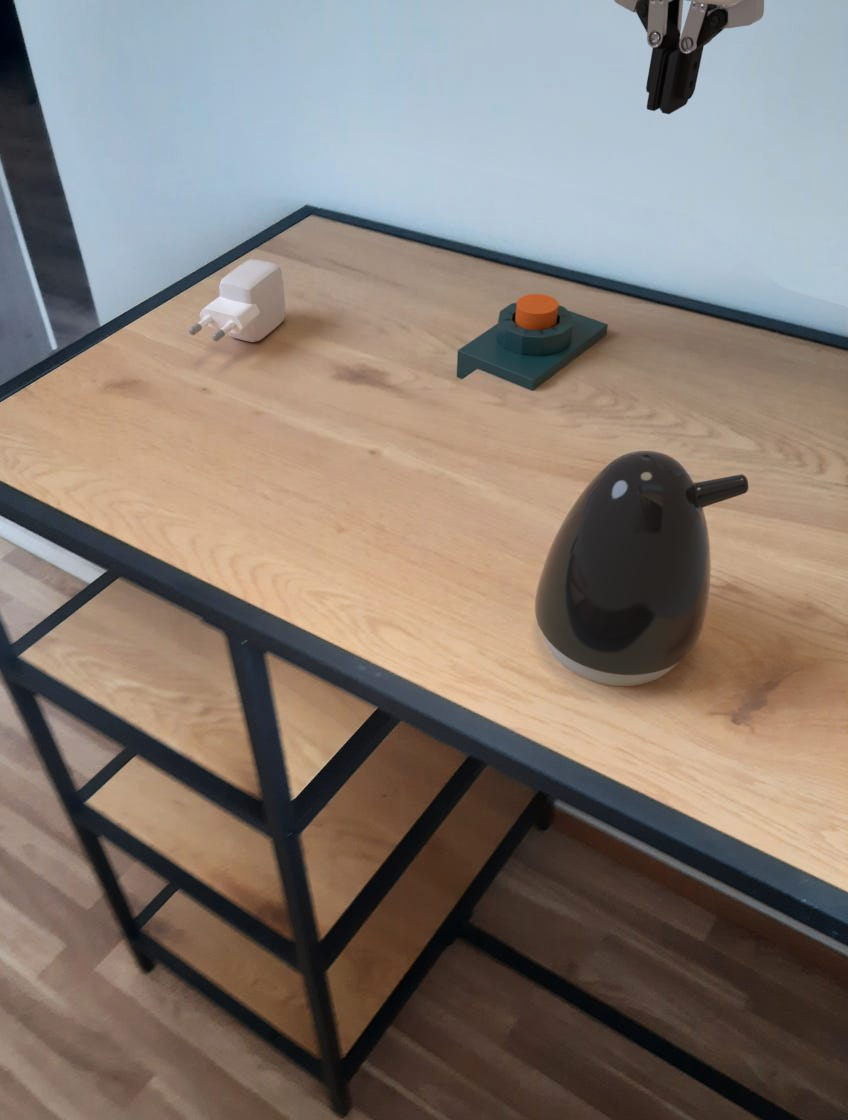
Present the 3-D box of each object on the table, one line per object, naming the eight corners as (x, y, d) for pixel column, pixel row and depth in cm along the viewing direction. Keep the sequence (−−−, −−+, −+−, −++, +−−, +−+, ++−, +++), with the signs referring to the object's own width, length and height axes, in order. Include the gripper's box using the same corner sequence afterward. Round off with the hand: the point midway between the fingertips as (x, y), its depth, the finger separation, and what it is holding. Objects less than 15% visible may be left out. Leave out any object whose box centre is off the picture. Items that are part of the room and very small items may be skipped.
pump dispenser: (701, 719, 57) (772, 527, 46) (529, 707, 58) (558, 516, 47) (682, 602, 64) (740, 410, 53) (528, 593, 65) (553, 403, 54)
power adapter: (229, 375, 86) (220, 315, 81) (186, 363, 87) (175, 304, 83) (293, 320, 92) (288, 262, 88) (252, 310, 94) (245, 253, 90)
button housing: (531, 324, 90) (536, 279, 87) (603, 351, 87) (611, 305, 83) (456, 377, 84) (458, 331, 81) (530, 408, 81) (535, 361, 77)
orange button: (530, 308, 84) (532, 289, 83) (564, 320, 83) (566, 301, 81) (506, 324, 82) (508, 305, 81) (541, 336, 81) (543, 317, 80)
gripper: (877, -228, 55) (784, 113, 69) (648, -235, 62) (605, 76, 76) (825, -214, 51) (738, 143, 65) (588, -224, 58) (554, 101, 72)
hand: (667, 106), depth 70 cm, fingers closed
